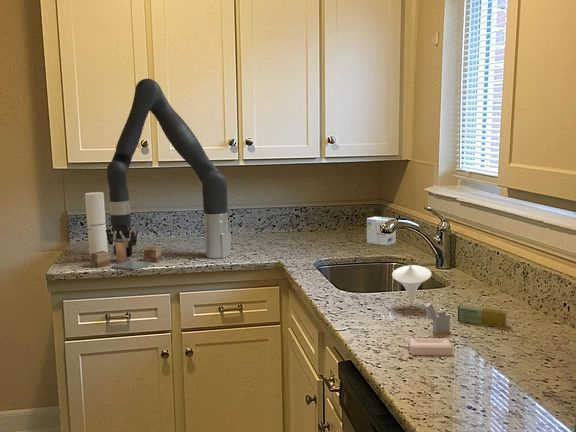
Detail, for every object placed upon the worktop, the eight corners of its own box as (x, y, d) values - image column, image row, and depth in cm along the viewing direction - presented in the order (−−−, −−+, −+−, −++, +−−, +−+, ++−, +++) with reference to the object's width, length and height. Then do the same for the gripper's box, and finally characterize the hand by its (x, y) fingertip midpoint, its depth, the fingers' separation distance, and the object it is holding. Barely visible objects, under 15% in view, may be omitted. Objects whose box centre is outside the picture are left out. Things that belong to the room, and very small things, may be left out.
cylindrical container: (102, 256, 242) (97, 194, 238) (86, 255, 244) (81, 194, 240) (111, 252, 249) (106, 192, 245) (95, 252, 250) (90, 192, 246)
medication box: (456, 321, 157) (457, 306, 156) (459, 318, 159) (459, 303, 159) (505, 328, 151) (505, 313, 150) (507, 325, 153) (507, 309, 153)
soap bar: (408, 347, 141) (408, 337, 140) (447, 347, 140) (447, 337, 140) (411, 356, 135) (411, 346, 135) (452, 356, 135) (452, 346, 134)
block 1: (110, 265, 226) (109, 252, 226) (98, 268, 223) (97, 254, 222) (104, 263, 230) (103, 250, 229) (91, 266, 227) (90, 253, 226)
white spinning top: (426, 313, 163) (426, 270, 161) (387, 308, 168) (387, 266, 166) (434, 302, 172) (435, 261, 171) (397, 298, 177) (398, 258, 175)
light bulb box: (396, 243, 254) (396, 218, 253) (387, 246, 250) (387, 220, 248) (375, 240, 262) (375, 215, 260) (366, 242, 257) (366, 217, 255)
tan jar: (133, 259, 235) (132, 237, 233) (124, 263, 230) (122, 239, 228) (122, 258, 237) (121, 236, 235) (113, 261, 232) (111, 238, 231)
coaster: (151, 264, 226) (151, 262, 226) (133, 270, 217) (133, 268, 217) (130, 262, 231) (129, 260, 231) (112, 268, 222) (111, 266, 222)
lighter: (445, 329, 151) (446, 298, 150) (450, 331, 149) (450, 300, 148) (422, 334, 148) (423, 302, 147) (427, 336, 146) (427, 304, 145)
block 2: (161, 259, 234) (161, 247, 233) (156, 262, 229) (155, 250, 228) (149, 259, 235) (148, 247, 234) (144, 262, 230) (143, 249, 229)
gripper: (141, 212, 231) (144, 255, 233) (112, 210, 237) (115, 252, 239) (128, 215, 224) (131, 259, 227) (98, 213, 230) (102, 256, 233)
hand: (123, 255), depth 233 cm, fingers closed on tan jar, 5 cm apart
